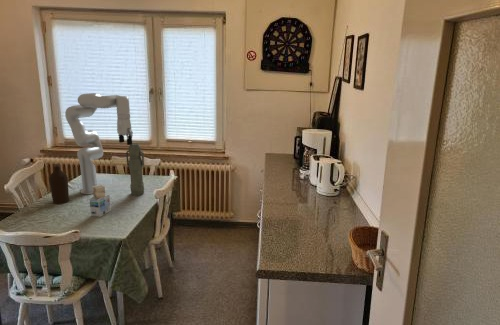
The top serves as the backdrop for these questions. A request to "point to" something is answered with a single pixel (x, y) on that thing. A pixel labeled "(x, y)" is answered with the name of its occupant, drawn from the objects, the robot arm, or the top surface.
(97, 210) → the light bulb box
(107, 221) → the top surface
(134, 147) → the thermos
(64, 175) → the olive oil
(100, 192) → the beech block
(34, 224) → the top surface
